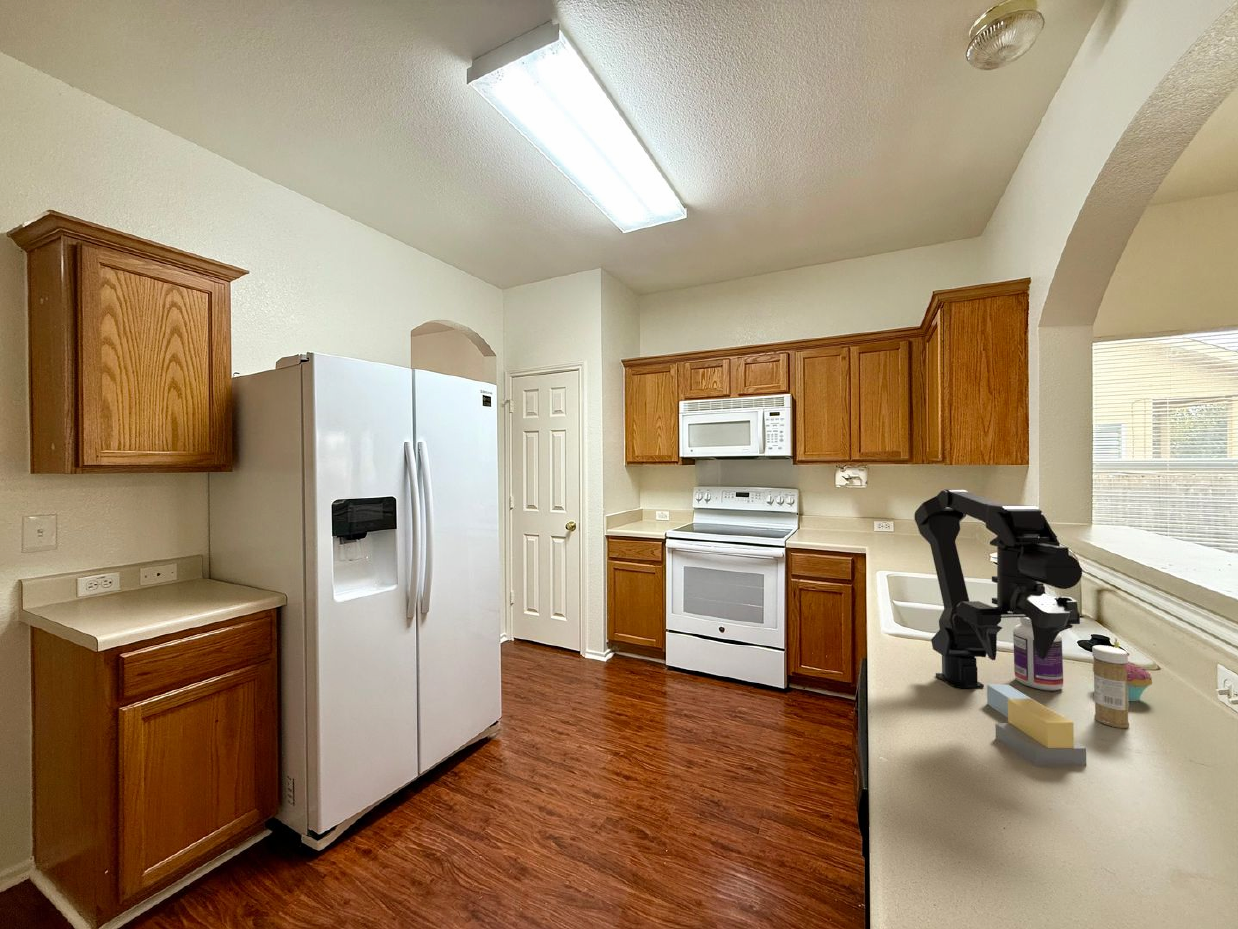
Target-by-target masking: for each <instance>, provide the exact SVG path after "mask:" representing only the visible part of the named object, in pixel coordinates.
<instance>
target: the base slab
mask: <svg viewBox="0 0 1238 929" xmlns="http://www.w3.org/2000/svg"><path fill="white" fill-rule="evenodd" d="M994 725H995V726H994V727H995V739H996V740H997V741H998V742H1001V743H1002V744H1003V745H1004V746H1006V747H1008V748H1009V749H1010V748H1011V750H1012V751H1013V752H1015V753H1016V754H1017V755H1019V754H1020V755H1019V756H1020V757H1022V758H1023V759H1025V760H1027V762H1030V763H1031V764H1032V765H1034V766H1036V767H1038V768H1039V767H1067V766H1069V767H1070V766H1087V748H1086V747H1085V746H1083V745H1081V744H1079V743H1078V742H1076V741H1074V748H1047V747H1046V746H1044V745H1043V744H1041V743H1040V742H1038V741H1037V740H1035V739H1034V738H1032V737H1030V736H1029V735H1027V734H1026V733H1024V732H1023V731H1021V730H1020V729H1018V728H1017V727H1015V726H1014V725H1012V724H1011V723H1009V722H1006V723H1004V722H1003V723H1001V722H1000V723H995V724H994Z"/></svg>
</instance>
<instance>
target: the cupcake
mask: <svg viewBox="0 0 1238 929" xmlns="http://www.w3.org/2000/svg"><path fill="white" fill-rule="evenodd" d="M1114 640H1115V641H1114V642H1113V644H1114V646H1113V647H1115V648H1119V649H1120V643H1119V641H1117V640H1118V639H1117V638H1114ZM1126 668H1127V690H1128V702H1138V701H1140V699H1141V696H1142V694H1143V692H1144V691H1145V689H1147V688H1148V687H1149V686H1151V685H1153V681H1152V680H1153V677H1152V676H1151V674H1150V673H1149V672H1148V671H1147V670H1146V669H1144V668H1142V667H1141V666H1139V665H1138V664H1136V663H1133V662H1130V661H1128V663H1127V665H1126ZM1092 671H1093V673H1094V663H1093V664H1092Z"/></svg>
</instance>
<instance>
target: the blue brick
mask: <svg viewBox="0 0 1238 929" xmlns="http://www.w3.org/2000/svg"><path fill="white" fill-rule="evenodd" d="M1025 698H1031V697H1029V696H1028V695H1026V694H1024V693H1022V692H1021V691H1020V690H1017V689H1016V688H1015V687H1013V686H1011V685H1010V684H990V683H989V684H988V683H987V684H986V699H987V702H986V704H987V705H989V706H990V707H991V708H993V709H994V710H996V711H997V712H999V713H1000V714H1001V715H1003V716H1005V717H1006V718H1008V699H1025ZM1033 700H1034V701H1036V700H1035V699H1033Z"/></svg>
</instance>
